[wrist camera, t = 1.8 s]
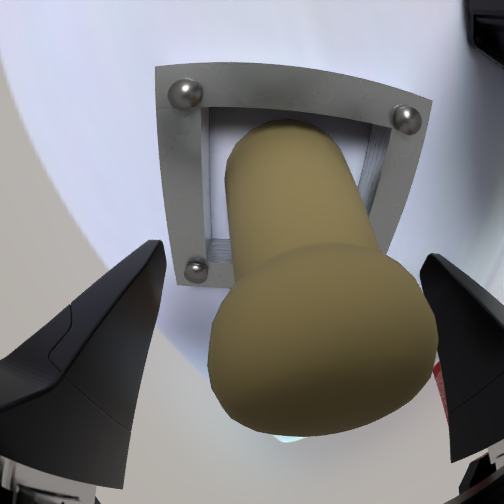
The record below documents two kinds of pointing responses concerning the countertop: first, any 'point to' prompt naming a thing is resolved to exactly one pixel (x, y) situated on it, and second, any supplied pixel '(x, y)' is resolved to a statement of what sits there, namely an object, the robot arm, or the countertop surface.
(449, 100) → the countertop surface
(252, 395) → the pepper shaker
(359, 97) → the grey square frame
